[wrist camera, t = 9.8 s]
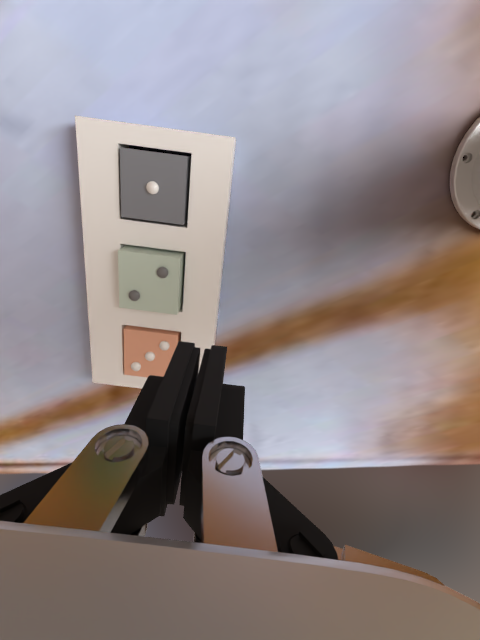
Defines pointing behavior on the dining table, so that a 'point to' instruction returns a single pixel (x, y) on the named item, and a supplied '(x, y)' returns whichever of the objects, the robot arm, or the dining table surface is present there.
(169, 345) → the tile three
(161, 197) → the tile one
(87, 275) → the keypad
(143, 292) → the tile two
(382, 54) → the dining table surface
